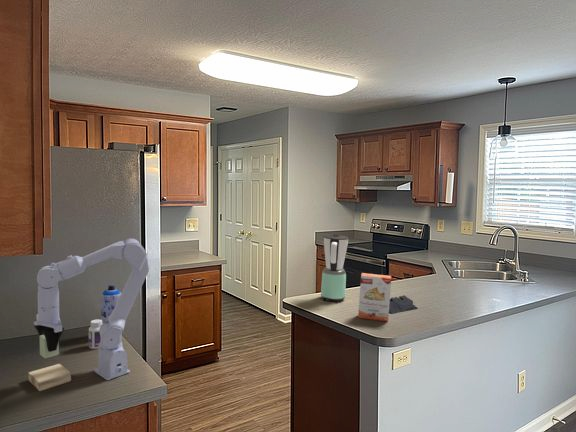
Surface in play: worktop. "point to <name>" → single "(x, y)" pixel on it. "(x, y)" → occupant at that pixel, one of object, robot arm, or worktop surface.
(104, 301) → the aerosol can
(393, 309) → the dark slate chunk
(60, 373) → the birch block
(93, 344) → the pill bottle
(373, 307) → the cracker box
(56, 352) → the green block
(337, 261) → the mint green blender
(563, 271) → the worktop surface
